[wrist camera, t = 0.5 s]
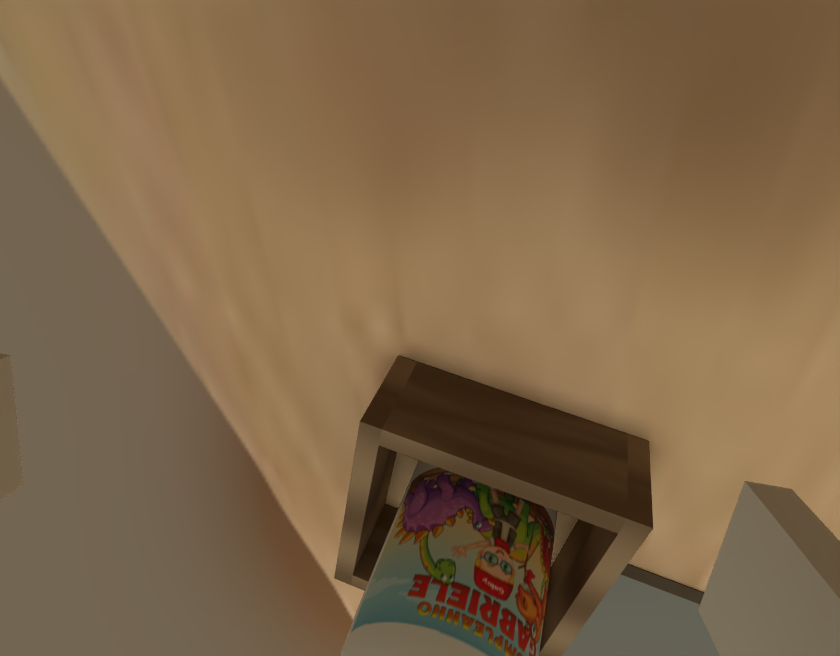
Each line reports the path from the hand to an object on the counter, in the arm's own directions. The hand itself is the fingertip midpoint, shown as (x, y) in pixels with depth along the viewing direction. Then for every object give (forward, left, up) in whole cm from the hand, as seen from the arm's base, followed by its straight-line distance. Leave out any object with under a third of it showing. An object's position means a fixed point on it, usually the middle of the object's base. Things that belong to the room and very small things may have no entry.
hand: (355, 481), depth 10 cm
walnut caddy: (+16, +3, -15) cm, 22 cm away
